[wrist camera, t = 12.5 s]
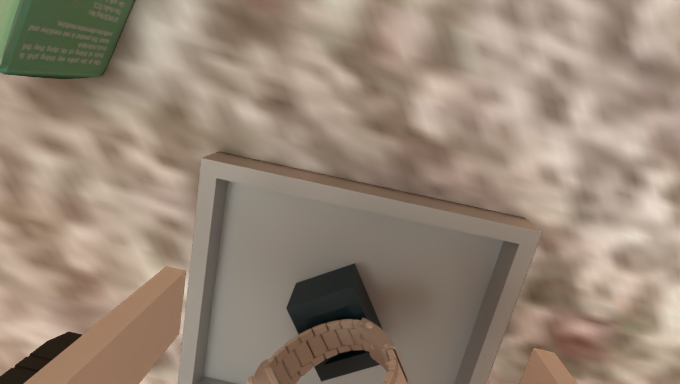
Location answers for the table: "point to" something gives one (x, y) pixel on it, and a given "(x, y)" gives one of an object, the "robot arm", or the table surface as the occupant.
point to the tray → (339, 251)
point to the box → (59, 36)
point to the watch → (332, 333)
